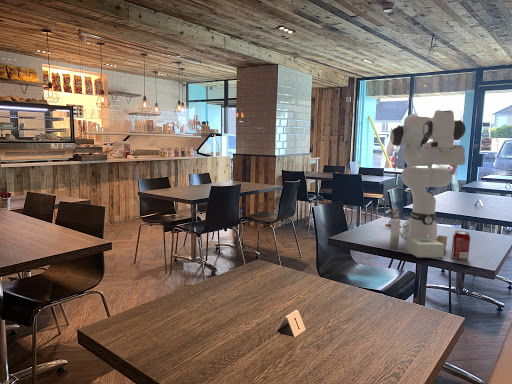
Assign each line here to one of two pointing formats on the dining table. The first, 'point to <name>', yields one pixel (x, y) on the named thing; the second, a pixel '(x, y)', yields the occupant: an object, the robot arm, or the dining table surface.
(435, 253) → the hole block
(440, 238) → the short wooden pin
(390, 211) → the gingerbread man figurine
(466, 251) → the soda can
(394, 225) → the white tall square block
